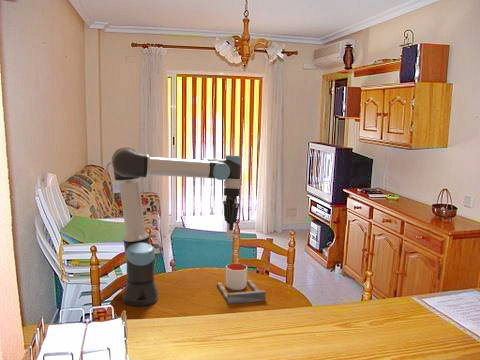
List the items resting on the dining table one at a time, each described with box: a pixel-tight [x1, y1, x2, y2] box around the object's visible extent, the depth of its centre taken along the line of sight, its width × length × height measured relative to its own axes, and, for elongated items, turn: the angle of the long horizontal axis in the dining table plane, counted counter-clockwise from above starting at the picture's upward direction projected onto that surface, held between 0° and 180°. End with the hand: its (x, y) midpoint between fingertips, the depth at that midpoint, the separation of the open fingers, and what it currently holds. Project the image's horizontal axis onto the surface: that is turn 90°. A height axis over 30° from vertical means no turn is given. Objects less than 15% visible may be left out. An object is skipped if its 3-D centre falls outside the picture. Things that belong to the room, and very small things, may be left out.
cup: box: [225, 262, 248, 291], centre depth 196 cm, size 10×10×10 cm
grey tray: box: [216, 279, 267, 305], centre depth 190 cm, size 20×17×4 cm
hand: (229, 236), depth 198 cm, fingers closed
